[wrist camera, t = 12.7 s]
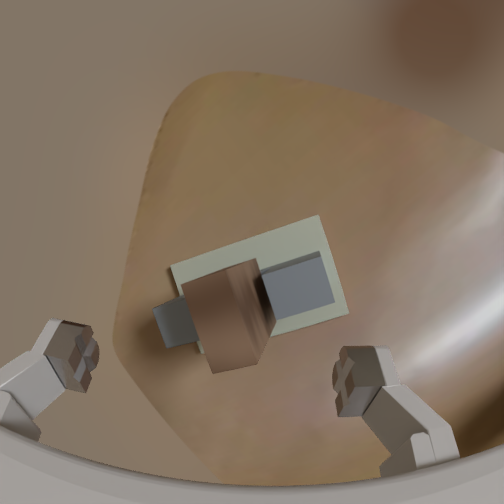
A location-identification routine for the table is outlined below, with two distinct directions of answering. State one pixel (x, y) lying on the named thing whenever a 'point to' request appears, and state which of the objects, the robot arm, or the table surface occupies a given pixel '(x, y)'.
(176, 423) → the table surface
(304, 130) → the table surface
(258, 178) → the table surface
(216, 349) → the walnut slat
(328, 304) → the notched receiver
